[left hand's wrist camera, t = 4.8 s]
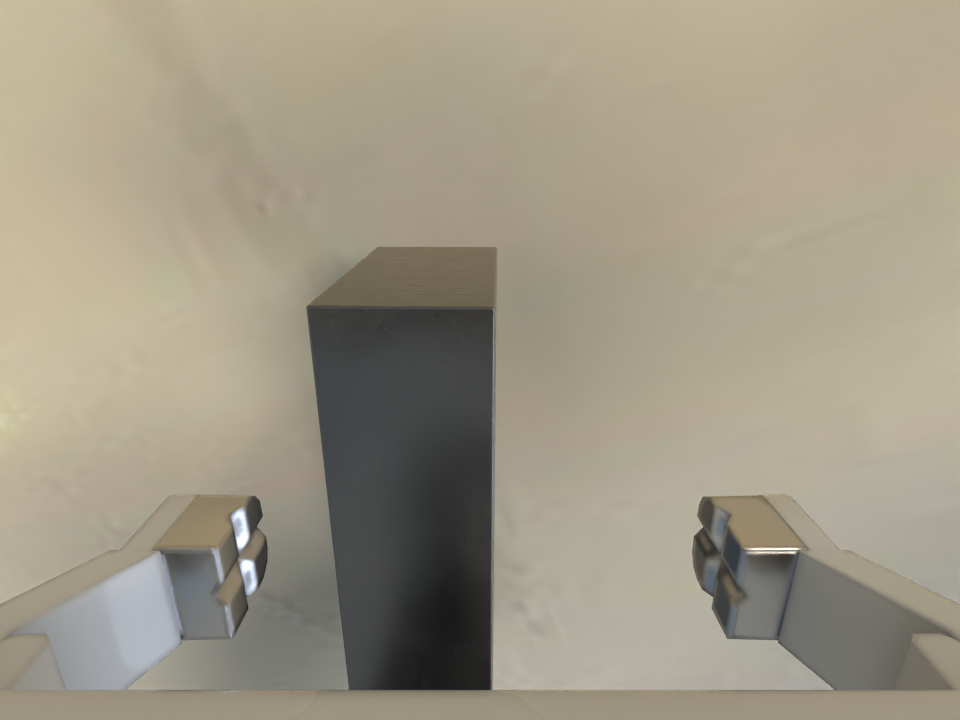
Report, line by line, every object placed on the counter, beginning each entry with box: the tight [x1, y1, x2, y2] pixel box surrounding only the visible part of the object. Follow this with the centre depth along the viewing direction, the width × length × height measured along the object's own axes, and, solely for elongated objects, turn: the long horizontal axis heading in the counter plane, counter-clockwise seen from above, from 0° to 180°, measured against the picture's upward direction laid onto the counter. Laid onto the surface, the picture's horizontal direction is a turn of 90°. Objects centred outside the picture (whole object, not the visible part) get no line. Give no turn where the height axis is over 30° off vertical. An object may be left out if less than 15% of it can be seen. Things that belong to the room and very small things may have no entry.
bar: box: [307, 247, 497, 690], centre depth 24 cm, size 26×5×10 cm, turn 0°
